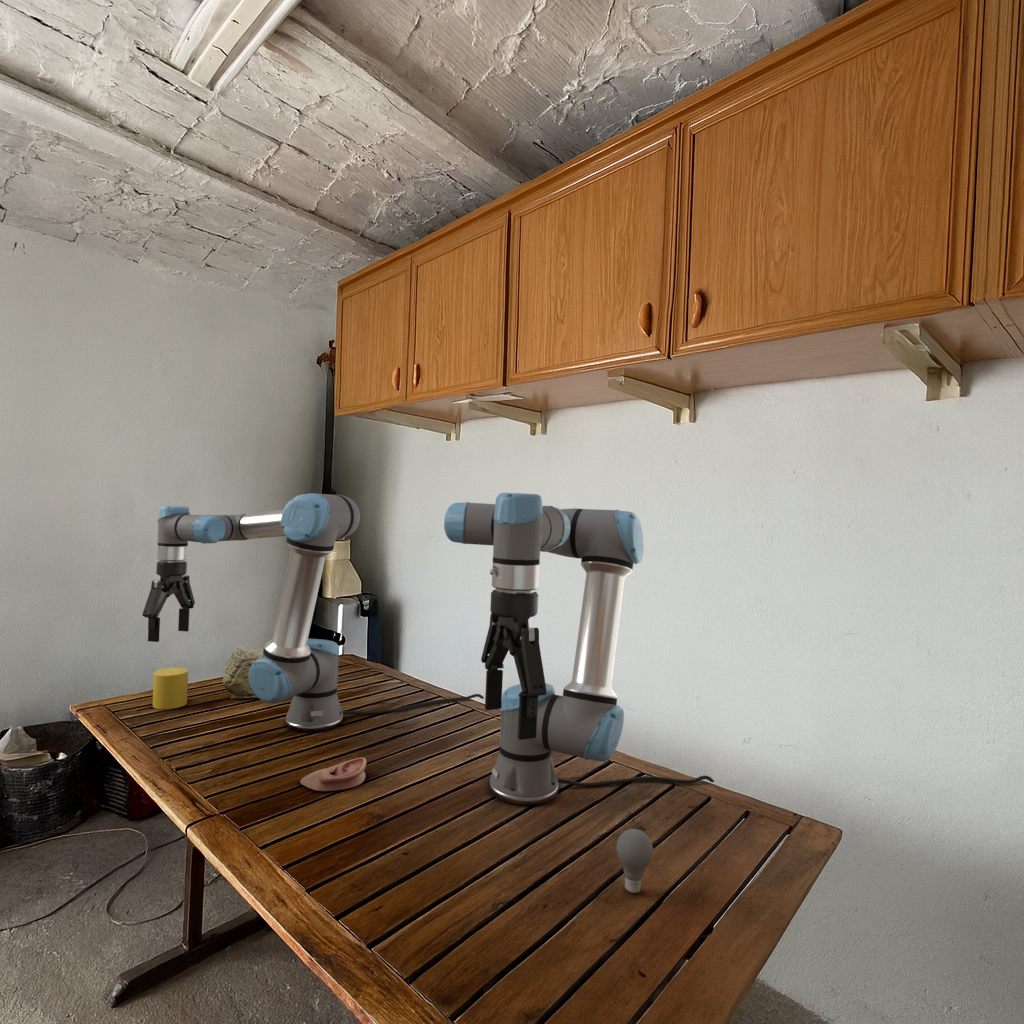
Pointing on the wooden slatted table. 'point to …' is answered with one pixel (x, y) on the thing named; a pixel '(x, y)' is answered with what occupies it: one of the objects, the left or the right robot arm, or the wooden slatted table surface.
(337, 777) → the anatomical model
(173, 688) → the canister
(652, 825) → the wooden slatted table surface
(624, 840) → the light bulb
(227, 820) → the wooden slatted table surface
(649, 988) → the wooden slatted table surface
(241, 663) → the fossil
